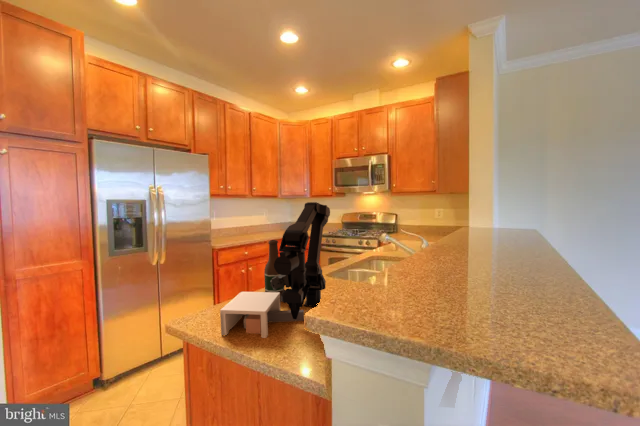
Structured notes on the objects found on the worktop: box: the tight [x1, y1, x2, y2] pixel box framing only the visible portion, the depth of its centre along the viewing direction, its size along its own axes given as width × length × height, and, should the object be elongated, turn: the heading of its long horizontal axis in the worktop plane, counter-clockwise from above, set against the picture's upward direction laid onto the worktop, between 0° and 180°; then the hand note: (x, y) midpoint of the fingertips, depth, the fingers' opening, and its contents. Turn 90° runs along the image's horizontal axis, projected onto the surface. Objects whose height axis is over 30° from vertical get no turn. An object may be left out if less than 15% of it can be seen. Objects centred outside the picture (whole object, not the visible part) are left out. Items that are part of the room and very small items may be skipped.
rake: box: [243, 309, 305, 329], centre depth 94 cm, size 6×19×3 cm, turn 93°
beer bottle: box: [264, 239, 286, 303], centre depth 114 cm, size 8×8×24 cm
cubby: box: [219, 291, 281, 339], centre depth 93 cm, size 16×14×8 cm
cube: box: [245, 314, 261, 335], centre depth 89 cm, size 4×4×4 cm
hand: (297, 312), depth 95 cm, fingers open, 9 cm apart
